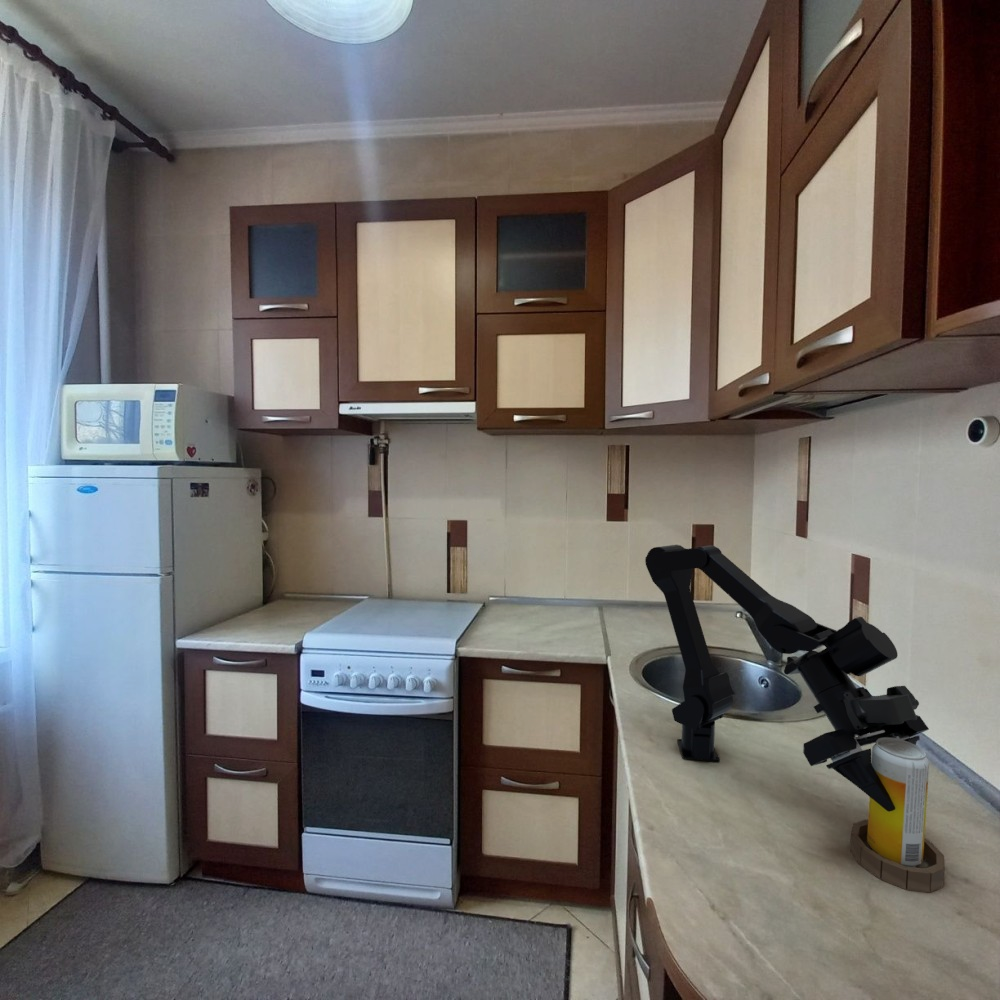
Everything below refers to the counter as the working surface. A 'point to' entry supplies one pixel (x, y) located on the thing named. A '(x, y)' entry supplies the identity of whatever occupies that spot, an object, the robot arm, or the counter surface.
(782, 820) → the counter surface
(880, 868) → the collar
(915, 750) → the beer can
